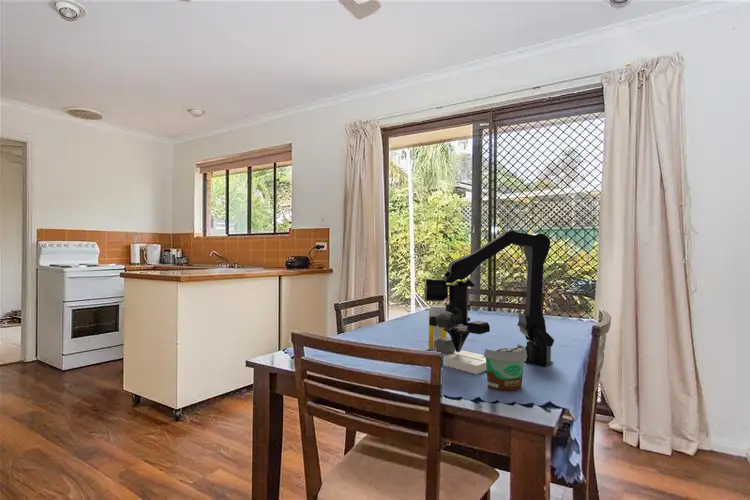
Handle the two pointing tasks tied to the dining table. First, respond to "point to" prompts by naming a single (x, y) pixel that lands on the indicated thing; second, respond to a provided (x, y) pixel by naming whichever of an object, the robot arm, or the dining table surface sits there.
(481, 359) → the fader console
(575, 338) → the dining table surface
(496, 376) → the food container
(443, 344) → the fader cap
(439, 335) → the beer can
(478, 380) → the dining table surface
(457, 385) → the dining table surface
